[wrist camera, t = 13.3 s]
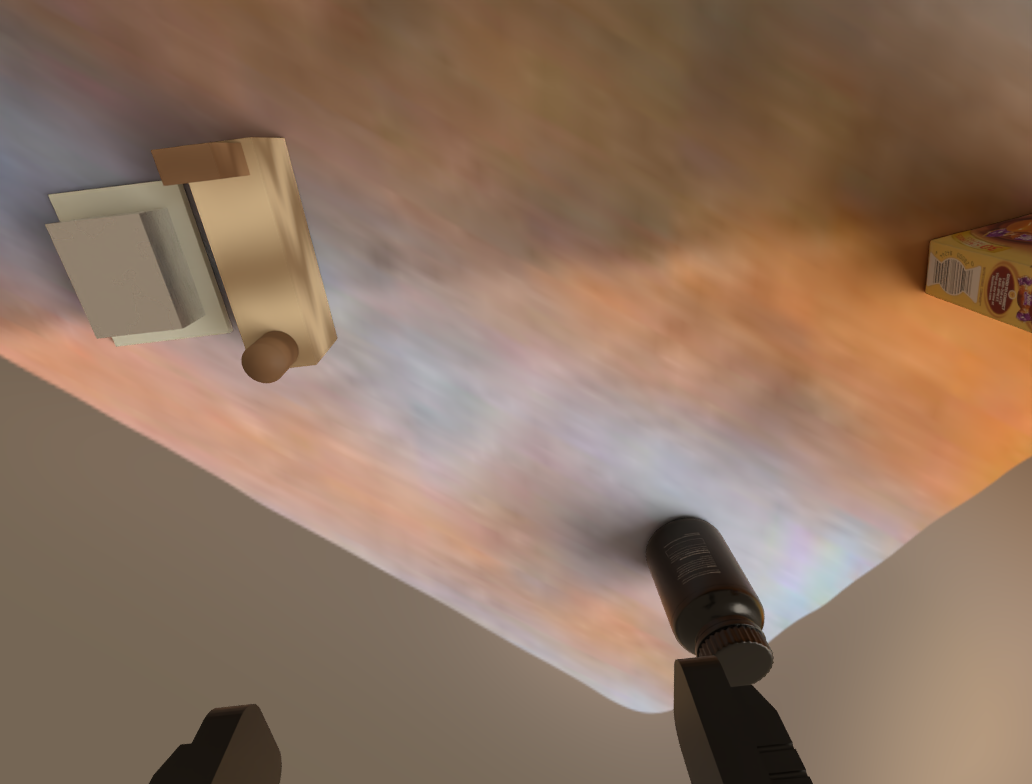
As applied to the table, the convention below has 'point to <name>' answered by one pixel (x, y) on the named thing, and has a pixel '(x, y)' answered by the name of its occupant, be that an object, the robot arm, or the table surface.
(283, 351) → the body
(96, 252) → the lever cap
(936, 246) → the candy box
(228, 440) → the table surface
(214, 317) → the mat
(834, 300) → the table surface
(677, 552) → the supplement bottle
